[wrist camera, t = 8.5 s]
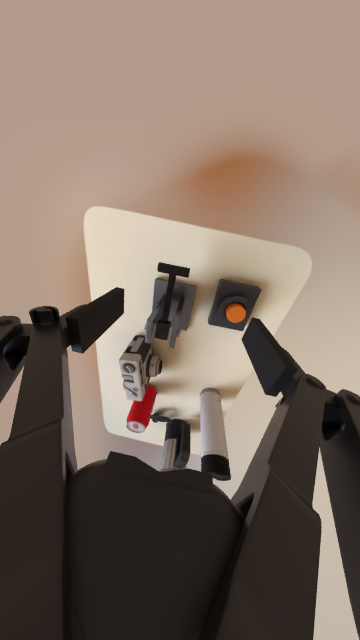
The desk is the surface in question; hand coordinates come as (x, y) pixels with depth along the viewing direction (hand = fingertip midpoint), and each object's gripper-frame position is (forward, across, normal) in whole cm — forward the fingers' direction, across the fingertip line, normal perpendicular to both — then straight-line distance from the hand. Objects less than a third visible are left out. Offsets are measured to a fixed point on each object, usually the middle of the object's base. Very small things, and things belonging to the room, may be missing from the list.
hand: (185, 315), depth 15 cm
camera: (+19, -7, -25) cm, 32 cm away
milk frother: (+19, +4, -56) cm, 59 cm away
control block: (+19, +10, -4) cm, 22 cm away
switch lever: (+10, -3, -4) cm, 11 cm away
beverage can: (+19, -6, -40) cm, 45 cm away
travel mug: (+19, +14, -36) cm, 43 cm away
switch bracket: (+19, -3, -8) cm, 21 cm away
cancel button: (+15, +10, -4) cm, 19 cm away
